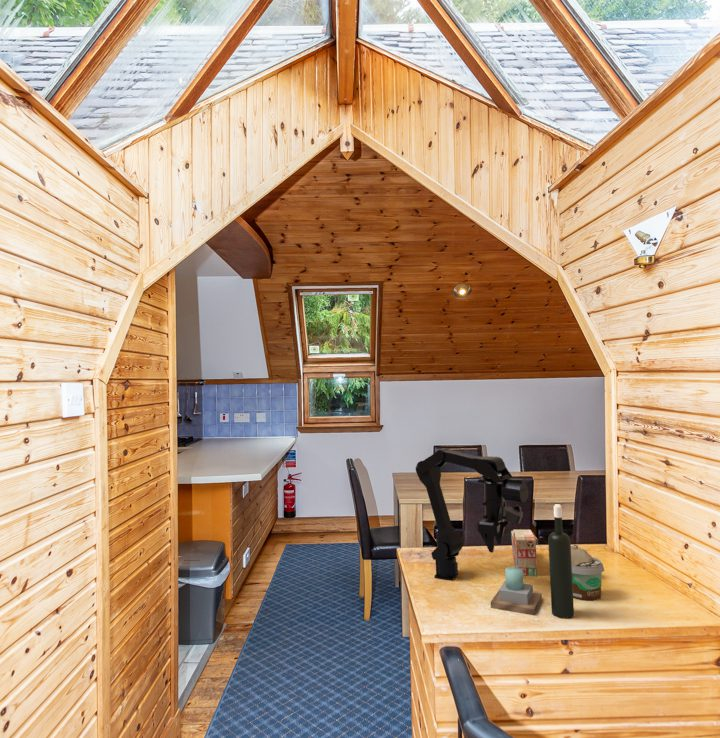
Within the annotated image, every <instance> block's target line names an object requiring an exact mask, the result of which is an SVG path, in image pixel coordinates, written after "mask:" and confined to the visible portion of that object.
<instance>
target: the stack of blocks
mask: <svg viewBox="0 0 720 738" xmlns="http://www.w3.org/2000/svg"><path fill="white" fill-rule="evenodd" d="M510 538H511V549H512V551H511V552H512V560H513V563H514V565H515V566H514V567H518V568H521V569H522V570H523V577H534V578H535V577H538V567H537V540H536V538H535V535H534V532H532V530H531V529H512V530H511V531H510Z"/></svg>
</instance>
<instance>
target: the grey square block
mask: <svg viewBox="0 0 720 738" xmlns="http://www.w3.org/2000/svg"><path fill="white" fill-rule="evenodd" d="M498 591H499V601H505V602H511V603H517V604H524V605H528V604H529V602H530V600H531V598H532V596H533V592H534V585H533V584H531V583H527V582H526V583H525V582H524V589H522V590H518V591H515V590H510V589H507V588H506V580H504V581H503V583H502V585H500V588H499V589H498Z"/></svg>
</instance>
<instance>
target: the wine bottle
mask: <svg viewBox="0 0 720 738" xmlns="http://www.w3.org/2000/svg"><path fill="white" fill-rule="evenodd" d="M562 507H563V506H561V503H559V504H558V503H557V504H554V505H553V517H554V518H553V519H554V531H553V532H551V533H550V534H549V535H548V539H547V540H548V541H547V542H548V543H547V544H548V545H547V546H548V561H549V562H548V564H549V579H550V580H549V583H550V585H549V587H550V602H551V603H550V604H551V615H553V616H554V617H556V618H560V619H571V618H573V617H574V616H575V607H574V598H573V583H572V563H571V546H572V545H571V538H570V536H569V535H568V534H567V533H565V532H563V508H562Z"/></svg>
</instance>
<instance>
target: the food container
mask: <svg viewBox="0 0 720 738" xmlns="http://www.w3.org/2000/svg"><path fill="white" fill-rule="evenodd" d="M593 558H594V561H591V562H582V563H580V564H578V565H576V566H573V565H572V583H573V600H574V599H575V600H579V601H586V602H593V601H598V600H600V599H601V598H602V576H603V575H602V574H603V572H604V571H605V569H604V568H605V567H604V565H603V562H602V560H600V559H599V558H597V557H595V556H594V557H593Z"/></svg>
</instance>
